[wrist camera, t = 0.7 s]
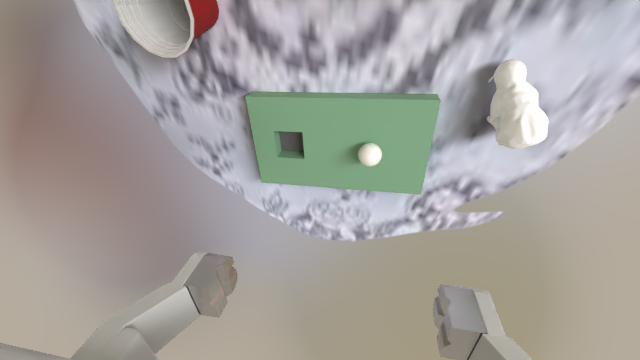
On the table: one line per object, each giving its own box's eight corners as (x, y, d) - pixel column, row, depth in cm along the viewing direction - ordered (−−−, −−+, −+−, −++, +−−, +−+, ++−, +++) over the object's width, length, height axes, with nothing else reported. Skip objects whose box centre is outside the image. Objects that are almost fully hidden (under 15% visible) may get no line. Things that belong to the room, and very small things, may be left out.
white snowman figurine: (505, 158, 39) (494, 74, 34) (487, 137, 46) (476, 66, 42) (559, 145, 36) (555, 54, 32) (531, 126, 44) (524, 49, 39)
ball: (359, 138, 47) (357, 149, 44) (382, 139, 47) (382, 150, 43) (358, 158, 50) (356, 169, 46) (380, 159, 49) (380, 171, 46)
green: (251, 91, 50) (245, 96, 47) (437, 94, 44) (440, 100, 41) (266, 174, 60) (261, 182, 57) (419, 185, 54) (420, 194, 51)
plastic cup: (176, 40, 47) (122, 51, 37) (164, -40, 41) (95, -51, 31) (235, 51, 46) (196, 66, 36) (233, -28, 40) (184, -36, 30)
